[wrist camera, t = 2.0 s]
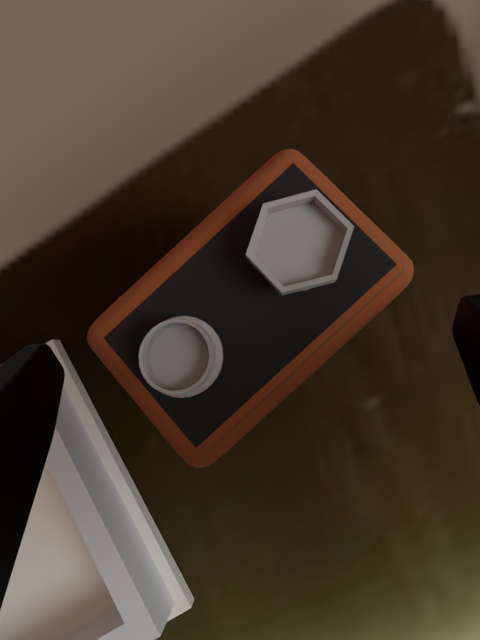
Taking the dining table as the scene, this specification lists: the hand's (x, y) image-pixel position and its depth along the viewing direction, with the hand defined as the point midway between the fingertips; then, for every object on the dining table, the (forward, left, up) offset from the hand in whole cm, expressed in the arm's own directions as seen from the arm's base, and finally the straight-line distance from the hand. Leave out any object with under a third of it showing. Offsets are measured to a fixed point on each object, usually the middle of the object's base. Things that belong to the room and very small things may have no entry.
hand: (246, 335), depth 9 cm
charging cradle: (-12, +4, -9) cm, 16 cm away
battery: (+1, 0, -9) cm, 9 cm away
